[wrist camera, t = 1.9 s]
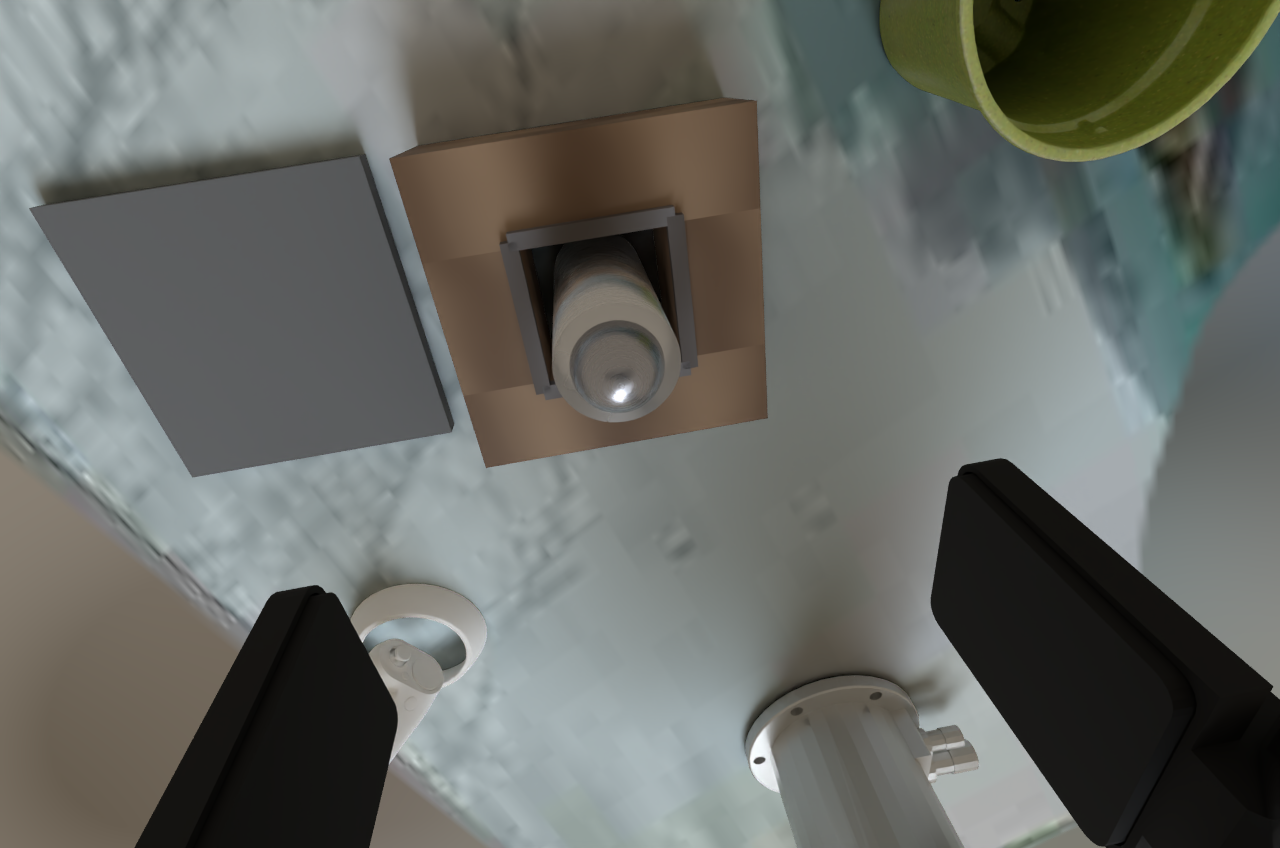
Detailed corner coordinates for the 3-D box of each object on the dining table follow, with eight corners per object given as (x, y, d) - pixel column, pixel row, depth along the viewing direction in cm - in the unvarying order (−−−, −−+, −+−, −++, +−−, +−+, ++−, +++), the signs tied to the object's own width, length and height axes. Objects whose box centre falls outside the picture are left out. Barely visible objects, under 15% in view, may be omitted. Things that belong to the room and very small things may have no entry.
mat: (365, 154, 23) (359, 156, 23) (454, 423, 29) (451, 432, 29) (45, 204, 23) (28, 208, 22) (201, 467, 29) (192, 477, 28)
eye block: (724, 97, 24) (760, 101, 20) (740, 374, 30) (770, 422, 26) (417, 145, 23) (386, 160, 19) (495, 416, 29) (485, 472, 25)
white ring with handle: (216, 754, 31) (226, 768, 26) (383, 568, 39) (417, 549, 33) (333, 834, 33) (366, 862, 28) (471, 641, 40) (517, 634, 35)
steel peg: (635, 222, 26) (683, 308, 16) (646, 307, 28) (695, 433, 18) (545, 236, 26) (538, 333, 16) (563, 321, 28) (566, 455, 18)
